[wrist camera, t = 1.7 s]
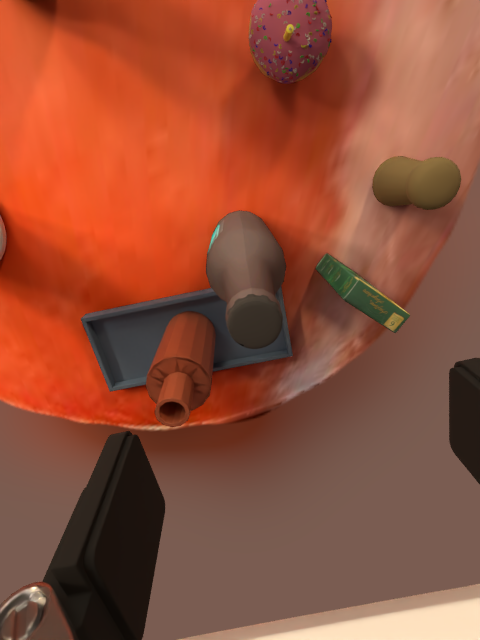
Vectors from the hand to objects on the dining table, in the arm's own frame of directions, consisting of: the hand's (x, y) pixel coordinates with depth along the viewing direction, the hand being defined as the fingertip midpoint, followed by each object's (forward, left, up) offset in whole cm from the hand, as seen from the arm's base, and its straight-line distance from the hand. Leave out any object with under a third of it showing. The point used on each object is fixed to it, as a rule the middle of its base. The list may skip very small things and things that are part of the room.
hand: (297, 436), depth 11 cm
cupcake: (+8, +19, -41) cm, 46 cm away
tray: (-11, -13, -41) cm, 44 cm away
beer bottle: (-1, -1, -41) cm, 41 cm away
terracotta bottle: (-11, -13, -41) cm, 44 cm away
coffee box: (+12, -9, -41) cm, 44 cm away
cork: (+20, +2, -41) cm, 46 cm away
